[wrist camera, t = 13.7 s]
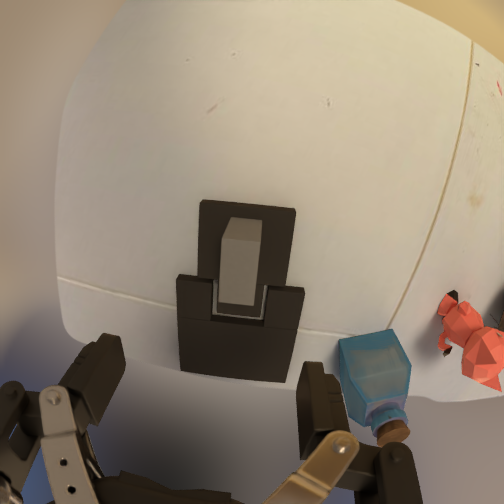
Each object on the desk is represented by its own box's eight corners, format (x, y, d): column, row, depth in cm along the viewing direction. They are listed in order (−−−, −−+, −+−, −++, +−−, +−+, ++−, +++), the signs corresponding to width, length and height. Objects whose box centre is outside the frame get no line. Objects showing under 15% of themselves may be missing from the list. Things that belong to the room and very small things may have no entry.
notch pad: (182, 364, 33) (180, 370, 32) (179, 273, 29) (175, 279, 27) (284, 375, 33) (285, 383, 32) (303, 287, 28) (305, 293, 27)
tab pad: (199, 304, 30) (184, 344, 24) (202, 199, 26) (182, 220, 20) (279, 312, 30) (281, 355, 24) (295, 208, 26) (303, 232, 20)
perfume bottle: (339, 377, 33) (357, 460, 22) (339, 339, 31) (363, 428, 19) (387, 367, 32) (417, 444, 21) (392, 328, 30) (432, 409, 19)
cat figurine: (475, 311, 29) (526, 372, 18) (434, 344, 31) (475, 414, 20) (461, 272, 27) (524, 334, 16) (415, 310, 29) (464, 385, 18)
